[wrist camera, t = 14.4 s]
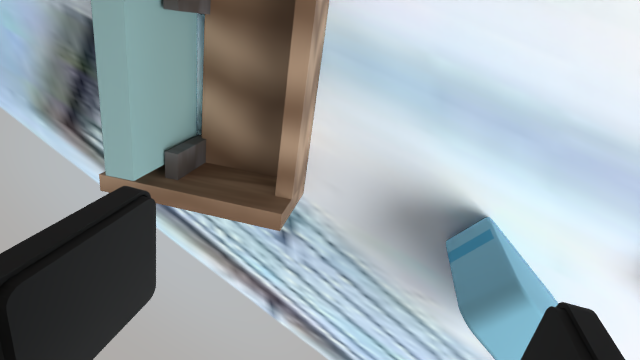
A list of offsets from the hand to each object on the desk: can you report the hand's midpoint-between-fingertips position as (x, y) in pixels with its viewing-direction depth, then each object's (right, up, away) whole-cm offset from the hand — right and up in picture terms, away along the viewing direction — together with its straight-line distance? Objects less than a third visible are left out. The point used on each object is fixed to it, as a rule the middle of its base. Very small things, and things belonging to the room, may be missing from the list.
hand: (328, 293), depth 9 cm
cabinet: (-8, +12, +27) cm, 30 cm away
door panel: (-13, +13, +28) cm, 33 cm away
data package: (+17, -6, +28) cm, 34 cm away
